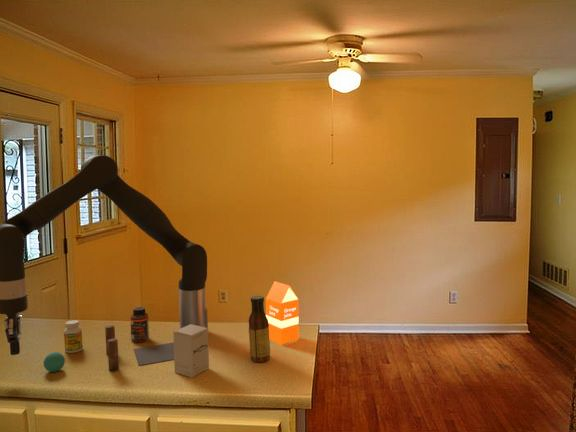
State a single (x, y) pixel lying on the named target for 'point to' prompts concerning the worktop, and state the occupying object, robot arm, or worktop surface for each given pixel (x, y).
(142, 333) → the supplement bottle
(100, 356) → the worktop surface
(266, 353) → the sauce bottle
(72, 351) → the supplement bottle
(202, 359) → the supplement box
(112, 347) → the post near
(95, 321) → the worktop surface
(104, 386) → the worktop surface
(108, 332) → the post far
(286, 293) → the orange juice
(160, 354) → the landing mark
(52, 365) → the ball
